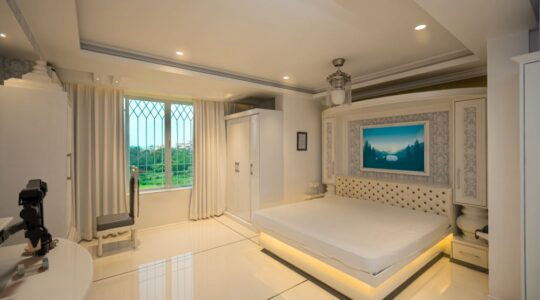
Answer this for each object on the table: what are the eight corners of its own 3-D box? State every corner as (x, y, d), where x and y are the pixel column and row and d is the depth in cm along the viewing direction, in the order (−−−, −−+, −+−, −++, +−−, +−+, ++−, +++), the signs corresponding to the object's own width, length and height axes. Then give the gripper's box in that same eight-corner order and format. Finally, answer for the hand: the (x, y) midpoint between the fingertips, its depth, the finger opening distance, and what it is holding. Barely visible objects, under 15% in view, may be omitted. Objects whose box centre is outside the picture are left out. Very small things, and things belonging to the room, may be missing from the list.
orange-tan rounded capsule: (28, 249, 118) (27, 237, 117) (40, 246, 121) (39, 234, 121) (28, 252, 115) (27, 240, 114) (41, 249, 118) (40, 237, 118)
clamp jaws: (18, 272, 116) (17, 265, 116) (47, 263, 123) (47, 257, 123) (18, 276, 112) (18, 269, 112) (48, 267, 119) (48, 260, 119)
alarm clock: (21, 247, 141) (54, 233, 153) (24, 254, 142) (56, 240, 154) (26, 251, 134) (60, 237, 146) (29, 259, 135) (62, 244, 147)
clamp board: (19, 271, 118) (18, 269, 118) (46, 263, 125) (46, 261, 125) (19, 281, 110) (19, 279, 110) (49, 272, 117) (49, 270, 117)
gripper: (8, 215, 118) (10, 246, 118) (7, 223, 105) (9, 258, 105) (39, 209, 126) (41, 239, 126) (42, 217, 113) (44, 249, 113)
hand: (34, 246), depth 118 cm, fingers closed on orange-tan rounded capsule, 4 cm apart
